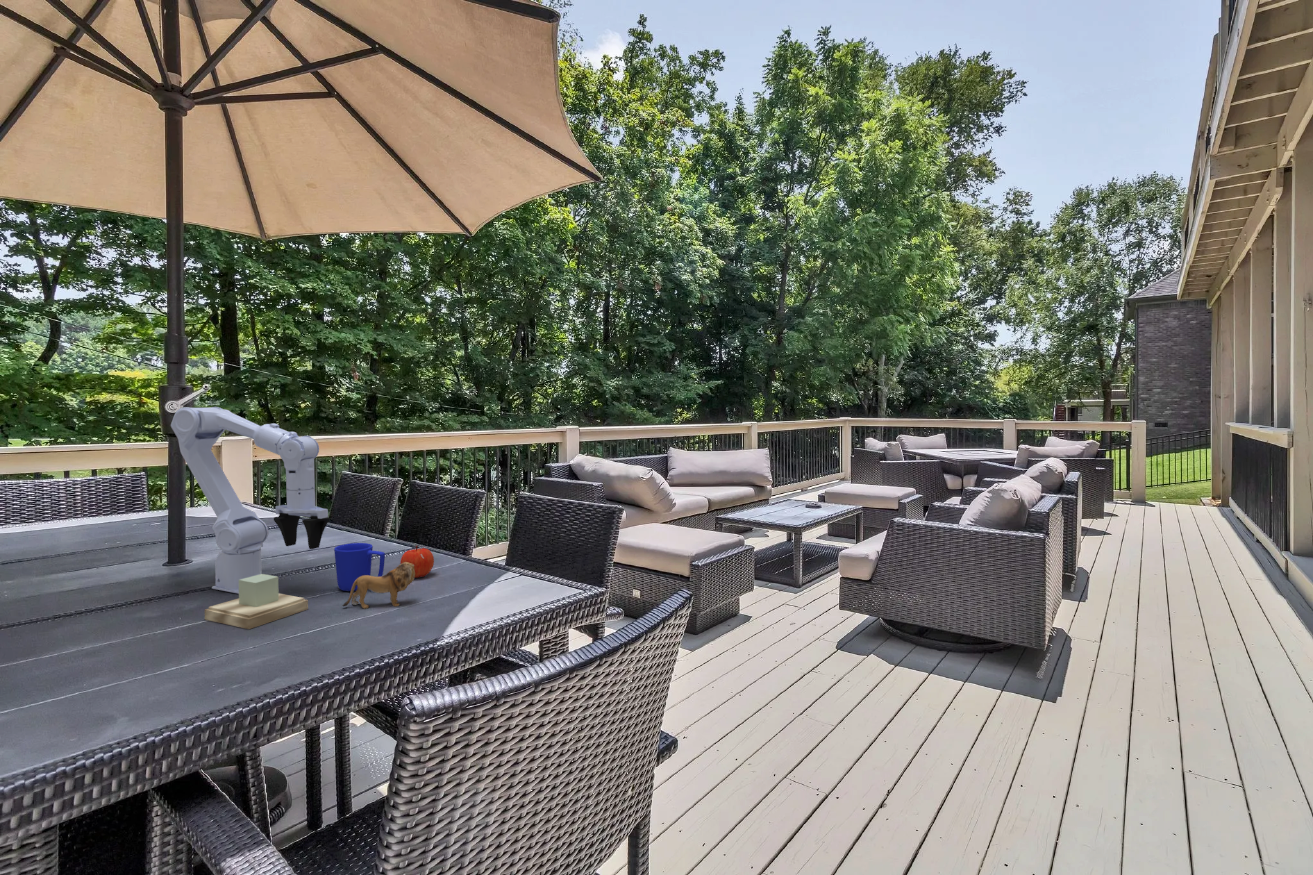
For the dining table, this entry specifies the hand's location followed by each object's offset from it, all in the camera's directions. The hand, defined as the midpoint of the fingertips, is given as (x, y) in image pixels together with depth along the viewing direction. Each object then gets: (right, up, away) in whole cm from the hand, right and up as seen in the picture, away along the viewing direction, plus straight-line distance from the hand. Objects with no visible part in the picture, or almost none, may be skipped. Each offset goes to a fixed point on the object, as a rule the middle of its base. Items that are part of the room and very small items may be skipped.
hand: (302, 546), depth 147 cm
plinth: (-1, -11, -15) cm, 19 cm away
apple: (+21, -10, +15) cm, 28 cm away
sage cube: (0, -9, -15) cm, 18 cm away
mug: (+12, -11, +3) cm, 17 cm away
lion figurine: (+22, -12, -7) cm, 26 cm away
